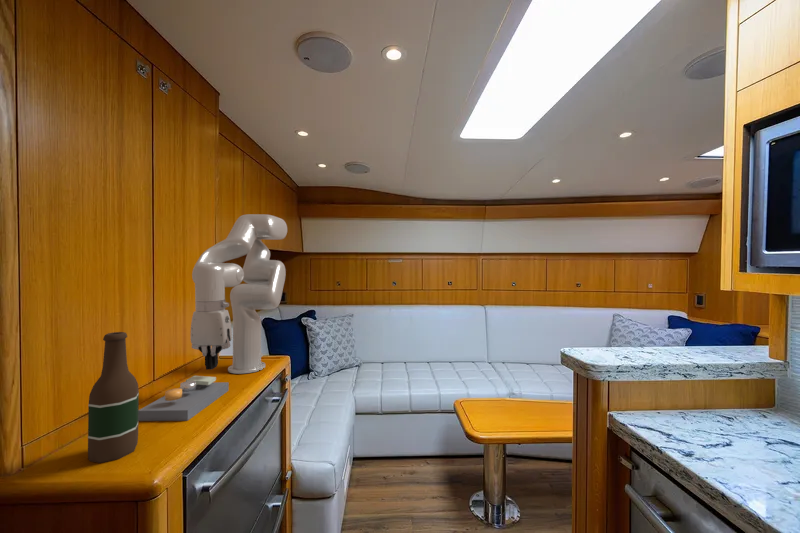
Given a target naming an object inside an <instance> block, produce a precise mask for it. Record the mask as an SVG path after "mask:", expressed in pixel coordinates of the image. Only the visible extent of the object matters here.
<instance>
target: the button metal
mask: <svg viewBox="0 0 800 533" xmlns="http://www.w3.org/2000/svg"><path fill="white" fill-rule="evenodd" d="M179 388H180V389H182V392H188V391H192V390H195V389H196V381H186V380H185V381H183V382H181V383H180V387H179Z"/></svg>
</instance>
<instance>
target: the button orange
mask: <svg viewBox="0 0 800 533" xmlns="http://www.w3.org/2000/svg"><path fill="white" fill-rule="evenodd" d="M164 394H165V395H164V396H165V400H166V401H172V400H177V399H180V398H181V397H182V389H180V387H178V388H177V387H176V388H171V389H168V390H166V391H165V392H164Z"/></svg>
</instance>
